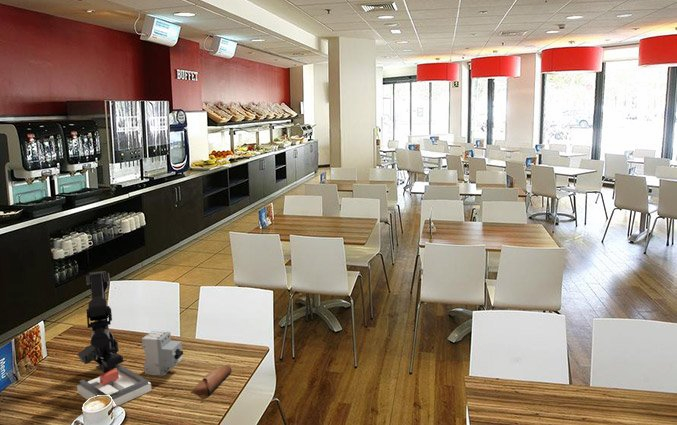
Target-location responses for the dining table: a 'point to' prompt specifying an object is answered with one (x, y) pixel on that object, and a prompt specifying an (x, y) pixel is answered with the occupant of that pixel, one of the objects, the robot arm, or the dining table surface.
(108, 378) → the lever
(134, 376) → the grey frame
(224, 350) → the dining table surface
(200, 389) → the sunglasses case
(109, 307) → the robot arm
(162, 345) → the circuit breaker
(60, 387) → the dining table surface
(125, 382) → the switch panel
